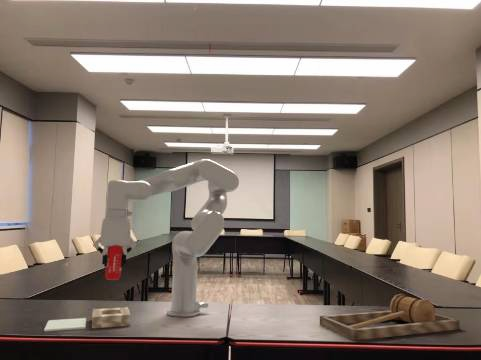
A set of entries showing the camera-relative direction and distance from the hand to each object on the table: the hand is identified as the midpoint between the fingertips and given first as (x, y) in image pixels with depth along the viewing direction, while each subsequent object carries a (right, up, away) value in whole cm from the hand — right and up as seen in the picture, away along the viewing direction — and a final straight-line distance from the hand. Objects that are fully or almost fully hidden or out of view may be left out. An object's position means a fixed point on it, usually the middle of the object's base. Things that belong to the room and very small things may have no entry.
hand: (113, 265), depth 132 cm
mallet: (+95, -22, -1) cm, 98 cm away
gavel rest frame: (+97, -22, 0) cm, 100 cm away
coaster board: (-13, -18, -7) cm, 24 cm away
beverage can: (0, -5, -1) cm, 5 cm away
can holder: (0, -19, -2) cm, 19 cm away
